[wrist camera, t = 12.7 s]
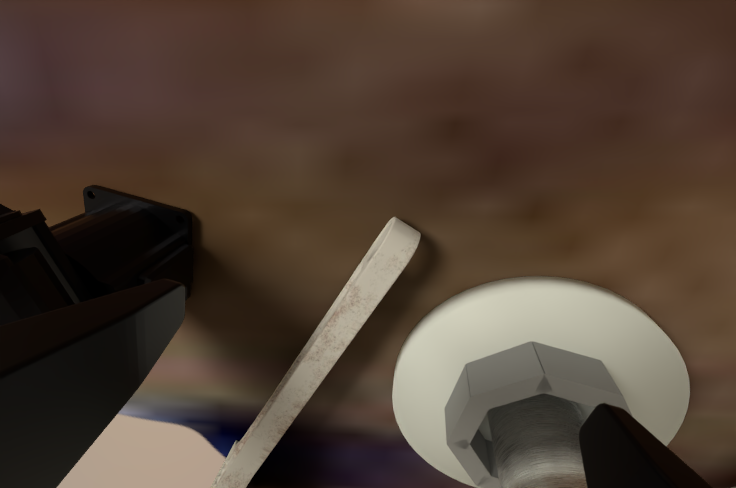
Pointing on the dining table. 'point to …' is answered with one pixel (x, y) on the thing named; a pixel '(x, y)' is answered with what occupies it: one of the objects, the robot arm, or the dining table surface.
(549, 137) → the dining table surface
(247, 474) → the wrench
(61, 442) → the robot arm
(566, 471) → the piston
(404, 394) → the white and grey disc
